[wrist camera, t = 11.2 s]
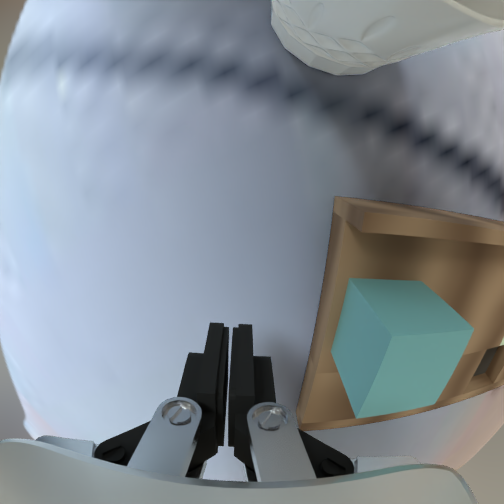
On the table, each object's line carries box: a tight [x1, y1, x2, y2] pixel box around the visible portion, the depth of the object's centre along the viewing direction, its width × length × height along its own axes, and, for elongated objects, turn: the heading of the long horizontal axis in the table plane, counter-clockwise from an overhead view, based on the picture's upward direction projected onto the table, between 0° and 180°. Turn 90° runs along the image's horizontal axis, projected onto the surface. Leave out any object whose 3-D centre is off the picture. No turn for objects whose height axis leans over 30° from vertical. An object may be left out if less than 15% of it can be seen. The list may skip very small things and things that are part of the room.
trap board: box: [296, 196, 504, 431], centre depth 15 cm, size 25×16×4 cm, turn 87°
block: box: [331, 278, 474, 419], centre depth 12 cm, size 4×4×5 cm
